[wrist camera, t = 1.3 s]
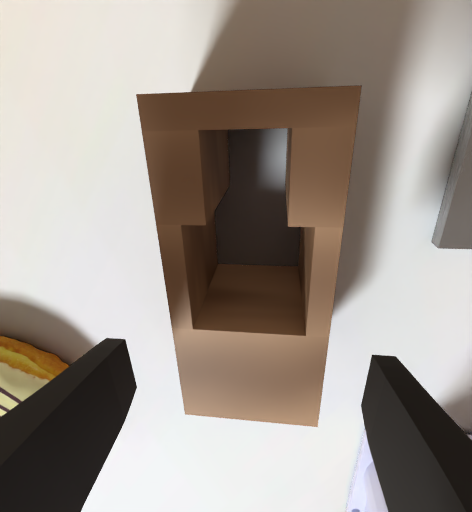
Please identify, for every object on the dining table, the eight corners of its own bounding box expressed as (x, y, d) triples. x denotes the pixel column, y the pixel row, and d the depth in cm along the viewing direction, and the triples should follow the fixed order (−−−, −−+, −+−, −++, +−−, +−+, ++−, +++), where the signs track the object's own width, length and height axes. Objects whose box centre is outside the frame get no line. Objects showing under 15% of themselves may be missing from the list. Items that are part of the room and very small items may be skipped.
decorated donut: (109, 451, 23) (79, 513, 19) (-31, 419, 23) (-84, 473, 20) (105, 345, 18) (63, 403, 14) (-72, 306, 18) (-152, 353, 15)
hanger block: (307, 341, 15) (317, 426, 11) (209, 335, 16) (185, 414, 12) (330, 91, 11) (361, 85, 7) (188, 97, 11) (136, 94, 7)
